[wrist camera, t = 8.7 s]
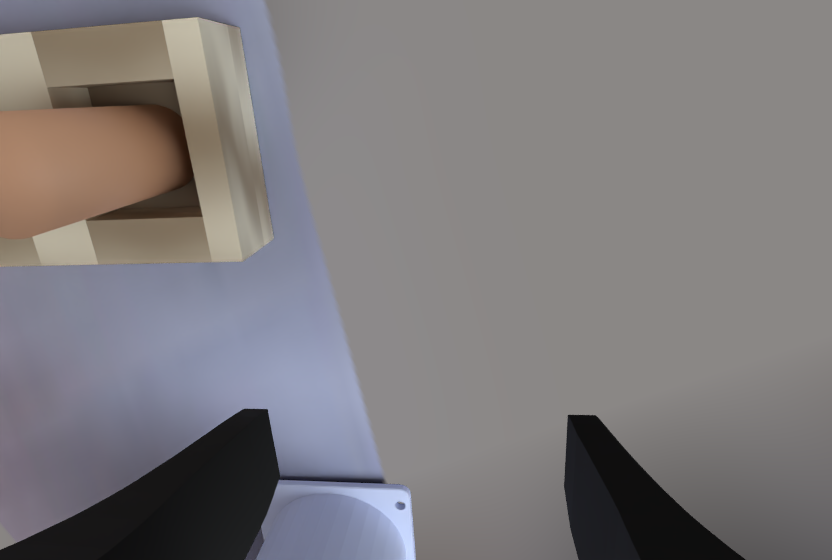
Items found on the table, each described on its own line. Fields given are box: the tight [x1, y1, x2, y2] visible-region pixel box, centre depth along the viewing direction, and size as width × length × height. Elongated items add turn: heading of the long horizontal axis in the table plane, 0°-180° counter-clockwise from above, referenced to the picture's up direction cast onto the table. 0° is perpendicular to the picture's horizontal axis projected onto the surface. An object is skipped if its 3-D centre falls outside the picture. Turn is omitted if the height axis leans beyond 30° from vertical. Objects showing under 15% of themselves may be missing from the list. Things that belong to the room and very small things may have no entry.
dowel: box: [0, 104, 194, 239], centre depth 16 cm, size 3×3×7 cm
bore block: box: [0, 17, 274, 267], centre depth 19 cm, size 8×14×3 cm, turn 93°
